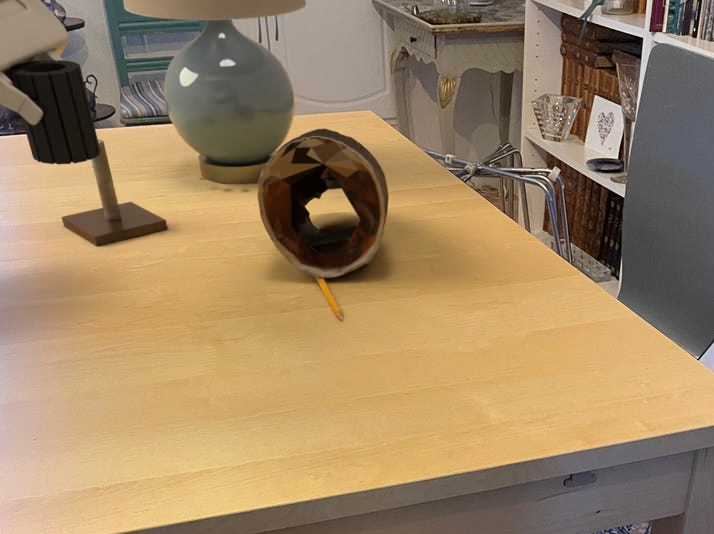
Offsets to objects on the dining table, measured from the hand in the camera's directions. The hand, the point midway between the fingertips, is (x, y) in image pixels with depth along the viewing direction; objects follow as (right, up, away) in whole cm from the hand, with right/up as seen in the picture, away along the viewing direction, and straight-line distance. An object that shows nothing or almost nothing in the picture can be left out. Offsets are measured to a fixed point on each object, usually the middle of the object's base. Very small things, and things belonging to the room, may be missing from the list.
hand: (61, 108), depth 95 cm
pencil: (+25, -15, +14) cm, 32 cm away
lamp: (+6, +18, +49) cm, 53 cm away
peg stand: (-6, +1, +30) cm, 31 cm away
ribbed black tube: (-1, -3, +3) cm, 4 cm away
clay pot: (+24, -3, +26) cm, 36 cm away
